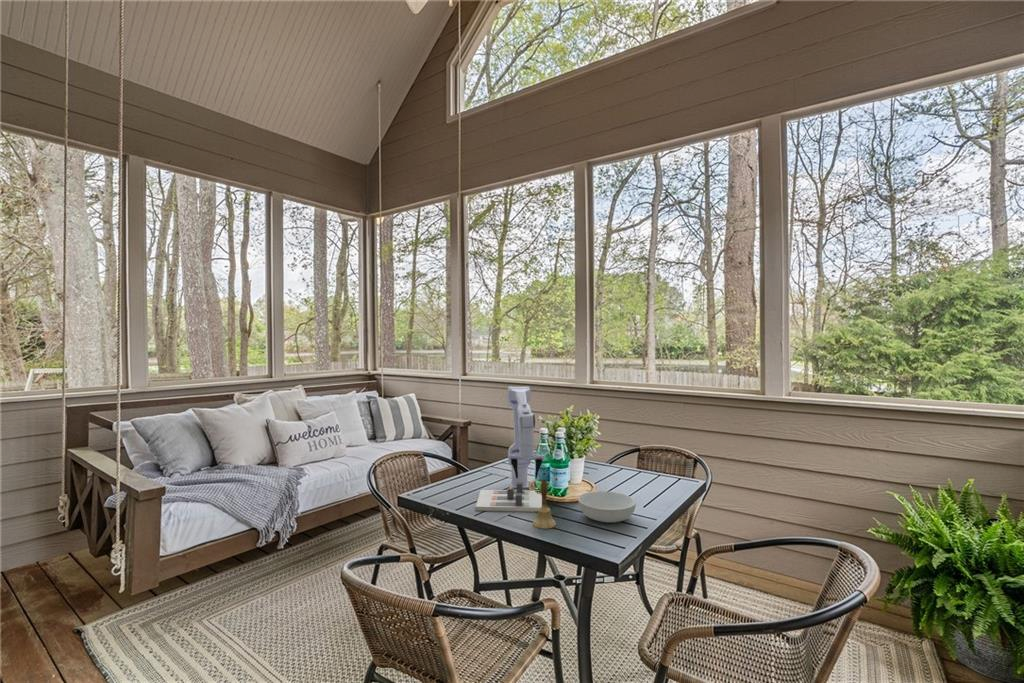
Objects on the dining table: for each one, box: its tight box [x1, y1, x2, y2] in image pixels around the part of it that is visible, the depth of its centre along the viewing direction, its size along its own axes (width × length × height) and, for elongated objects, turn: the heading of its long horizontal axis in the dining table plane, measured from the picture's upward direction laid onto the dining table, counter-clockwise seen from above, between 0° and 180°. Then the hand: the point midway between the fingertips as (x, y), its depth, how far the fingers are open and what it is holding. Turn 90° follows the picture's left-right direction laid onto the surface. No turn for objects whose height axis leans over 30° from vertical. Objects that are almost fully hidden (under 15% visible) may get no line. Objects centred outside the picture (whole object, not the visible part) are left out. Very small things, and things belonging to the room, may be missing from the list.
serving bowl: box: [577, 490, 637, 524], centre depth 175 cm, size 21×21×7 cm
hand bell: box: [532, 478, 557, 530], centre depth 169 cm, size 8×8×16 cm
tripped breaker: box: [506, 486, 515, 498], centre depth 191 cm, size 3×2×4 cm
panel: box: [474, 482, 542, 513], centre depth 191 cm, size 20×26×6 cm
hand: (526, 477), depth 191 cm, fingers open, 7 cm apart
